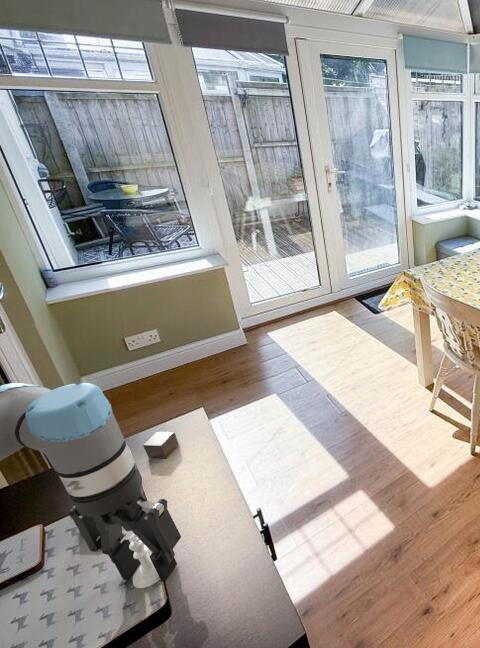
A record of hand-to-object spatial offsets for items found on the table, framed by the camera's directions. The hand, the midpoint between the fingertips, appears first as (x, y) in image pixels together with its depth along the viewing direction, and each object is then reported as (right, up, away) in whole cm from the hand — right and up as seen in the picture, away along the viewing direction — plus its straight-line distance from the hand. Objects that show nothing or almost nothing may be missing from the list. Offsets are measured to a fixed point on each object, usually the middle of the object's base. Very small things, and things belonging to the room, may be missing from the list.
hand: (150, 571), depth 71 cm
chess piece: (0, 0, 0) cm, 1 cm away
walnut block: (-17, +11, +23) cm, 31 cm away
